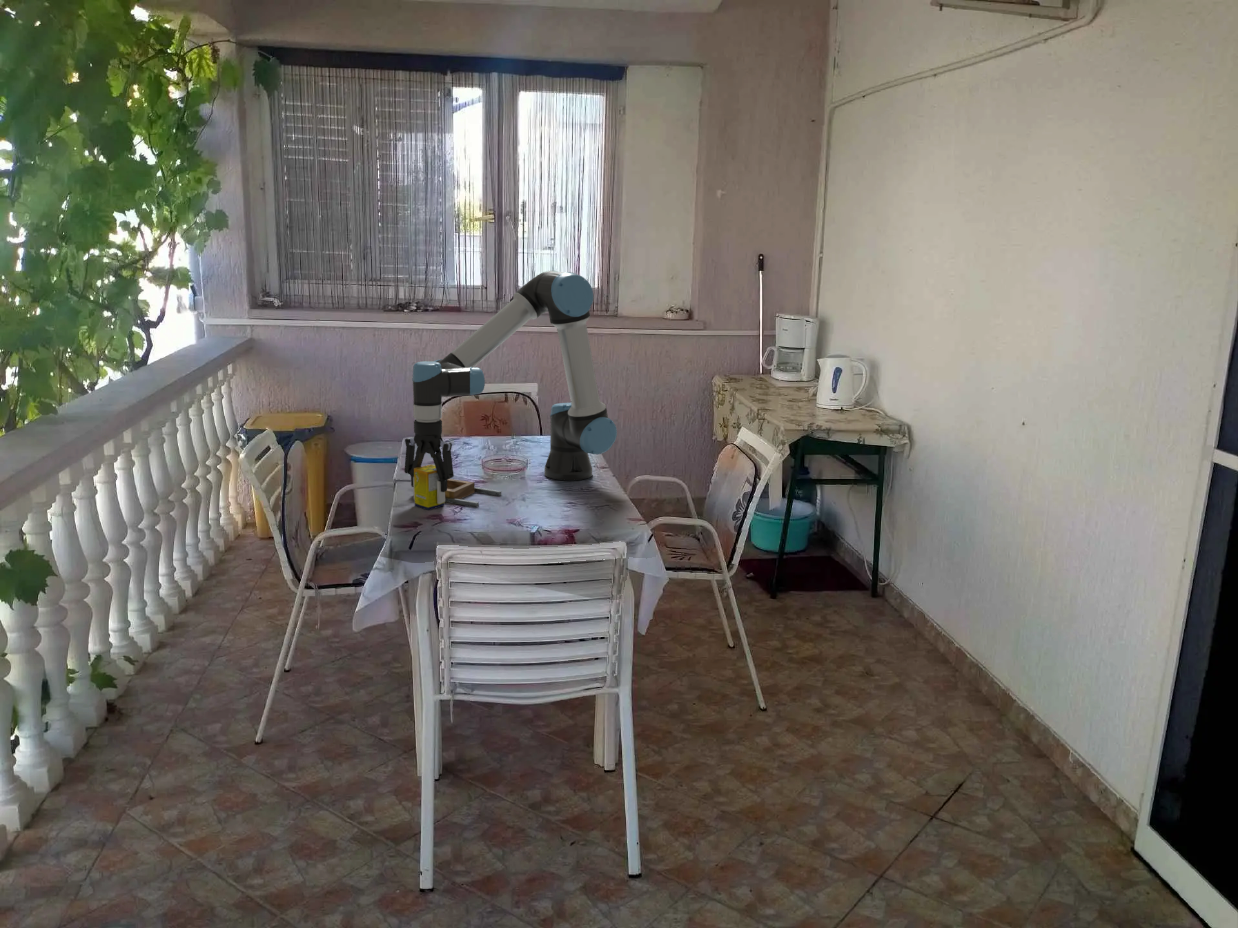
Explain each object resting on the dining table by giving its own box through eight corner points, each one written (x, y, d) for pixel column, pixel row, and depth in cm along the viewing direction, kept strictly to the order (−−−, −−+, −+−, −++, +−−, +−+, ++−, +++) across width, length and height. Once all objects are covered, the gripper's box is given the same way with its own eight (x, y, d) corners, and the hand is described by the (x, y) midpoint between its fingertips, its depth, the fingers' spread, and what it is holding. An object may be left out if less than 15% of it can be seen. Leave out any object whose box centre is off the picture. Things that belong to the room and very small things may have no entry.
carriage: (474, 492, 271) (474, 482, 271) (454, 501, 262) (453, 491, 261) (442, 487, 275) (442, 477, 275) (421, 496, 266) (420, 486, 265)
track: (501, 495, 270) (501, 471, 268) (476, 507, 257) (476, 483, 256) (436, 485, 278) (436, 462, 276) (409, 496, 265) (409, 472, 264)
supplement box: (430, 501, 261) (430, 464, 258) (444, 506, 258) (444, 468, 255) (413, 506, 257) (413, 467, 254) (428, 510, 253) (427, 471, 250)
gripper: (467, 420, 251) (467, 502, 256) (405, 413, 258) (407, 492, 264) (451, 425, 244) (452, 509, 250) (388, 417, 251) (391, 499, 257)
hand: (429, 500), depth 257 cm, fingers closed on supplement box, 7 cm apart
